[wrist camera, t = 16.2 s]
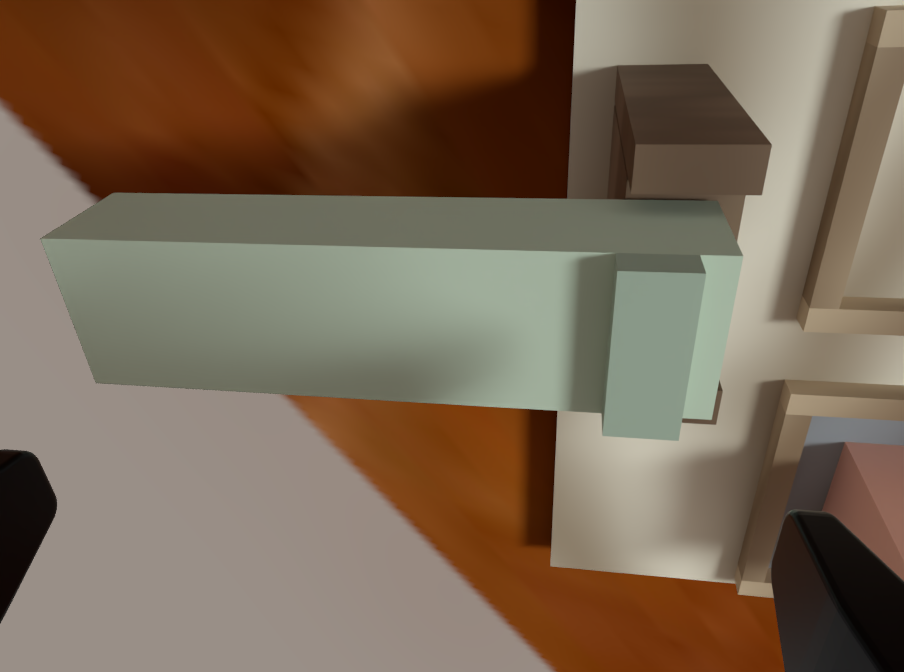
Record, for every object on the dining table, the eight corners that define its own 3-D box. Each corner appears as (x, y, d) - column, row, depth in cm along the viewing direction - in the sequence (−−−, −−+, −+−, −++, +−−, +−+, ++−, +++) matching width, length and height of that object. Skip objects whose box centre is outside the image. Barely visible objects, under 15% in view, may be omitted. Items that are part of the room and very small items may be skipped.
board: (1394, -83, 13) (2066, -70, 7) (1010, 585, 24) (1159, 820, 18) (578, -50, 16) (577, -19, 10) (551, 544, 26) (543, 739, 20)
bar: (717, 201, 12) (751, 274, 9) (693, 348, 13) (717, 443, 11) (113, 192, 14) (16, 253, 11) (154, 324, 15) (76, 402, 13)
